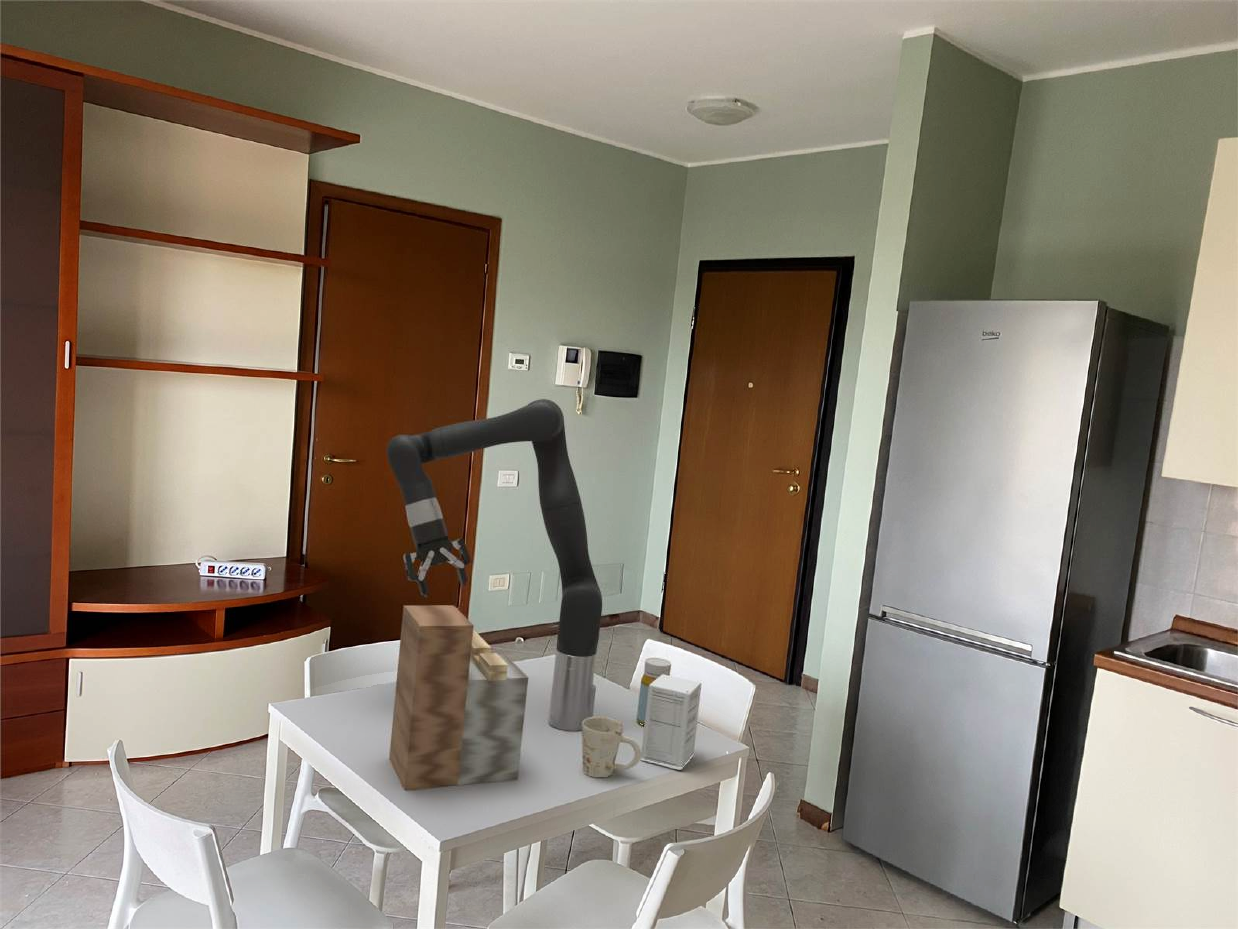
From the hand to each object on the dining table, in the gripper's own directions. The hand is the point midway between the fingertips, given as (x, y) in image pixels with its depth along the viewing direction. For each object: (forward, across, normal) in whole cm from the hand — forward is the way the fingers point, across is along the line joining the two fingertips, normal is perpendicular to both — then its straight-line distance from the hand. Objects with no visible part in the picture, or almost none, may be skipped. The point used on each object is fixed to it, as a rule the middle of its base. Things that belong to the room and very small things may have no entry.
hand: (445, 591), depth 202 cm
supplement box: (+48, +31, -22) cm, 61 cm away
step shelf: (+33, -13, -20) cm, 40 cm away
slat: (+14, -2, -22) cm, 26 cm away
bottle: (+44, +37, -4) cm, 58 cm away
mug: (+44, +15, -27) cm, 54 cm away
